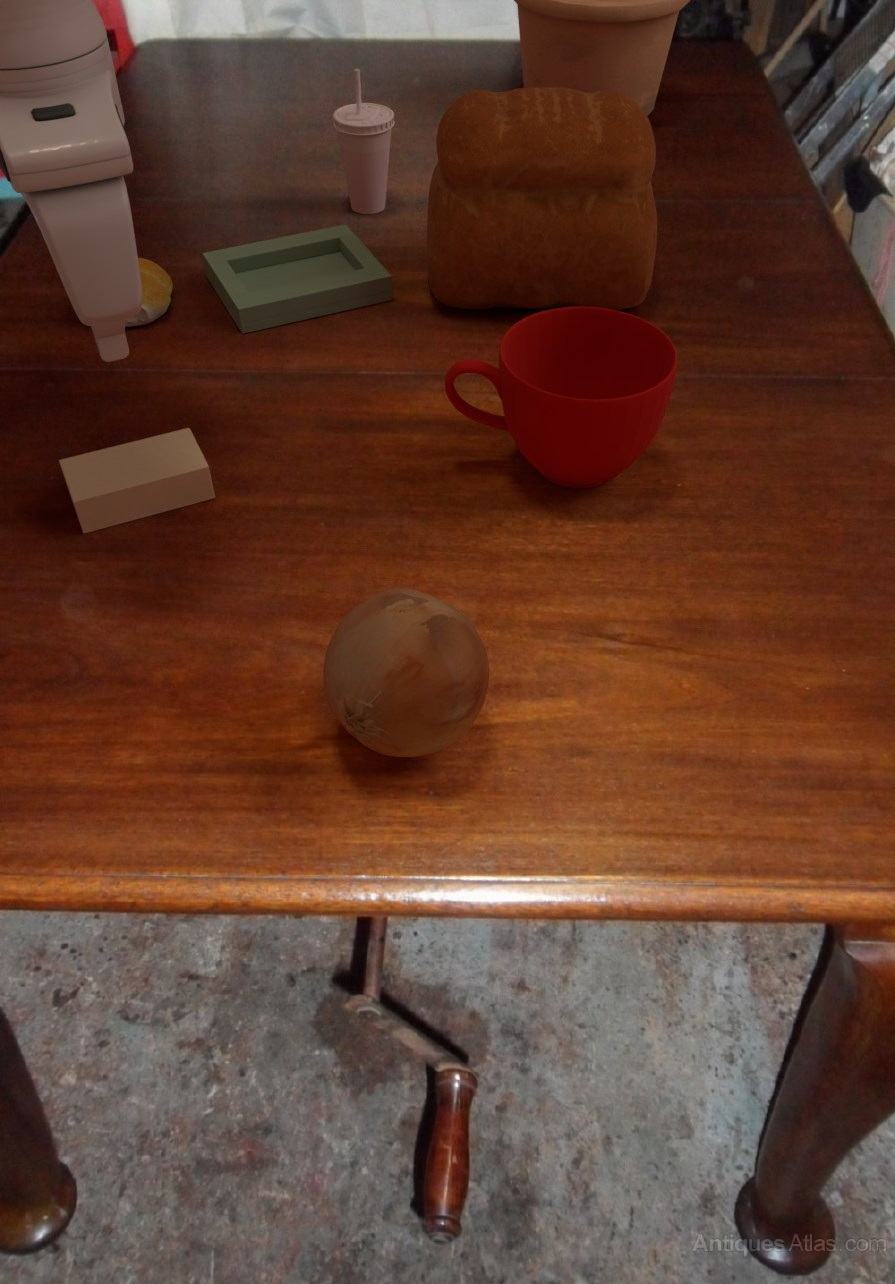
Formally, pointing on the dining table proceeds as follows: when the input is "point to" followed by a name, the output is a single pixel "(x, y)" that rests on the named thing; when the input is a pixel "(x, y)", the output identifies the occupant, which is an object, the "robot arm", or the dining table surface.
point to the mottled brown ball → (406, 673)
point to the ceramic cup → (577, 391)
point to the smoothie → (365, 150)
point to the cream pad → (137, 479)
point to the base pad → (296, 278)
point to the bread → (542, 201)
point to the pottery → (597, 45)
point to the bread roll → (152, 293)
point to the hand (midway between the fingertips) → (98, 320)
